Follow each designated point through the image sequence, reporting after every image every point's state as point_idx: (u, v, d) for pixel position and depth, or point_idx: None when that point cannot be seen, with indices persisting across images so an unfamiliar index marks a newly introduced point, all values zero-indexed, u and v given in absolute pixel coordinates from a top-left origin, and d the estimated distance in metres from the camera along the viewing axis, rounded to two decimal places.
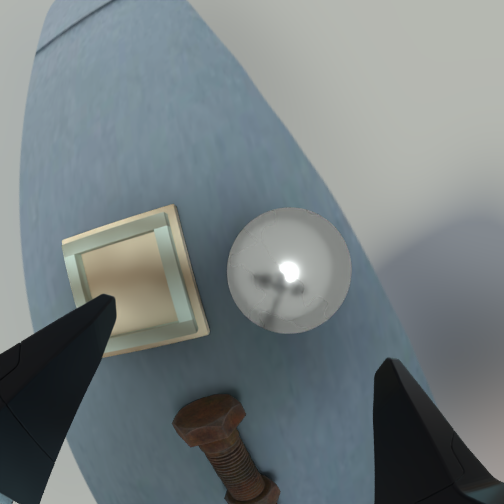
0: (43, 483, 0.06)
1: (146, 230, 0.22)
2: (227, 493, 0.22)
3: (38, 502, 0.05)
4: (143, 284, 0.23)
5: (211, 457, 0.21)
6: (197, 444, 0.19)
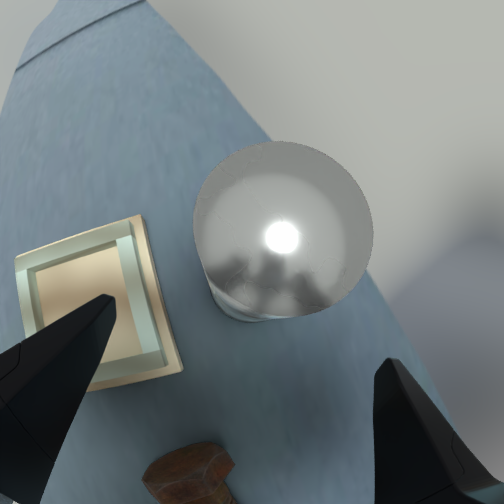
0: (43, 483, 0.06)
1: (107, 241, 0.18)
2: None
3: (38, 502, 0.05)
4: None
5: None
6: None
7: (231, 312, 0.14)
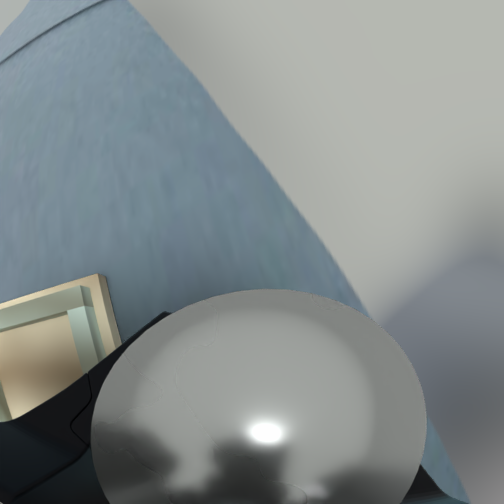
0: None
1: (58, 311, 0.13)
2: None
3: None
4: (62, 386, 0.13)
5: None
6: None
7: None
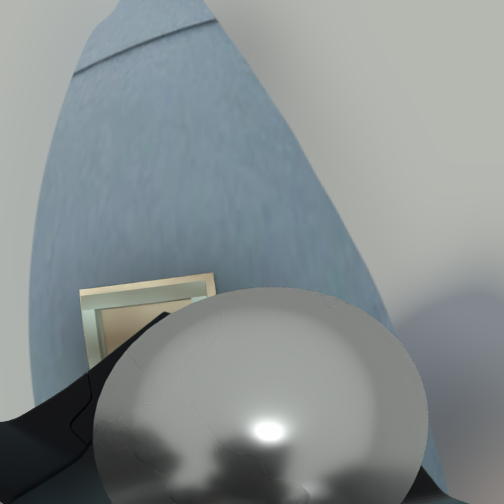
0: None
1: (182, 297, 0.20)
2: None
3: None
4: None
5: None
6: None
7: None
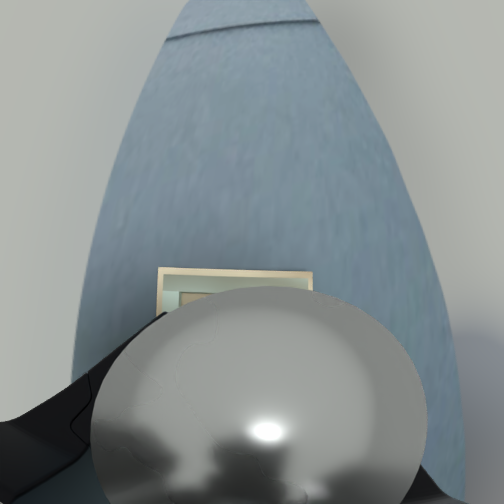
0: None
1: None
2: None
3: None
4: None
5: None
6: None
7: None
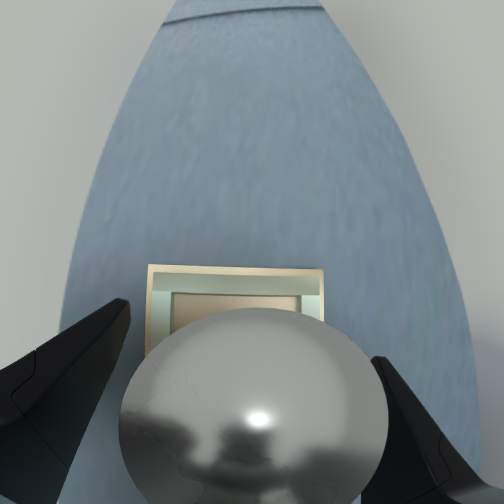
0: (57, 490, 0.06)
1: (291, 293, 0.17)
2: None
3: None
4: None
5: None
6: None
7: None
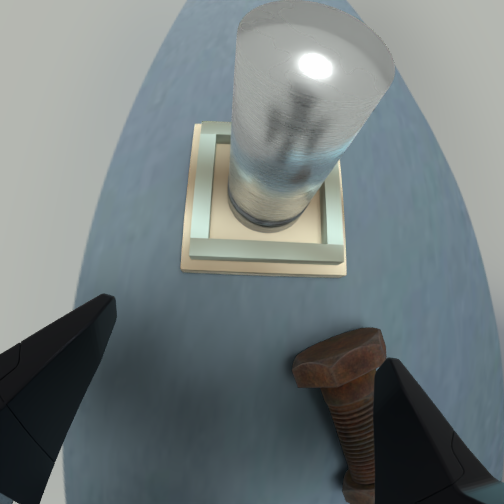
0: (43, 483, 0.06)
1: None
2: (346, 483, 0.16)
3: (38, 502, 0.05)
4: None
5: (349, 412, 0.15)
6: (347, 380, 0.14)
7: (255, 184, 0.13)
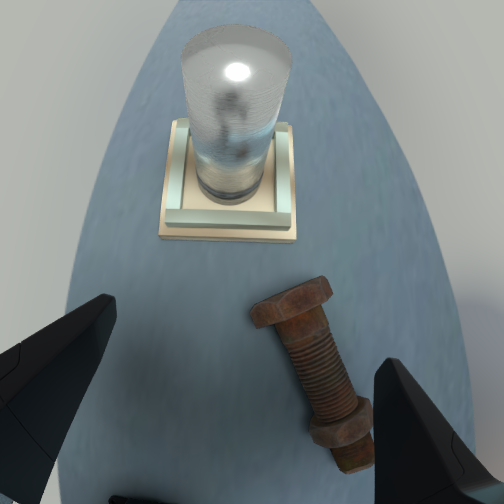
0: (43, 483, 0.06)
1: None
2: (312, 423, 0.20)
3: (38, 502, 0.05)
4: None
5: (301, 349, 0.19)
6: (292, 315, 0.19)
7: (208, 160, 0.17)
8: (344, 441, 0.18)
